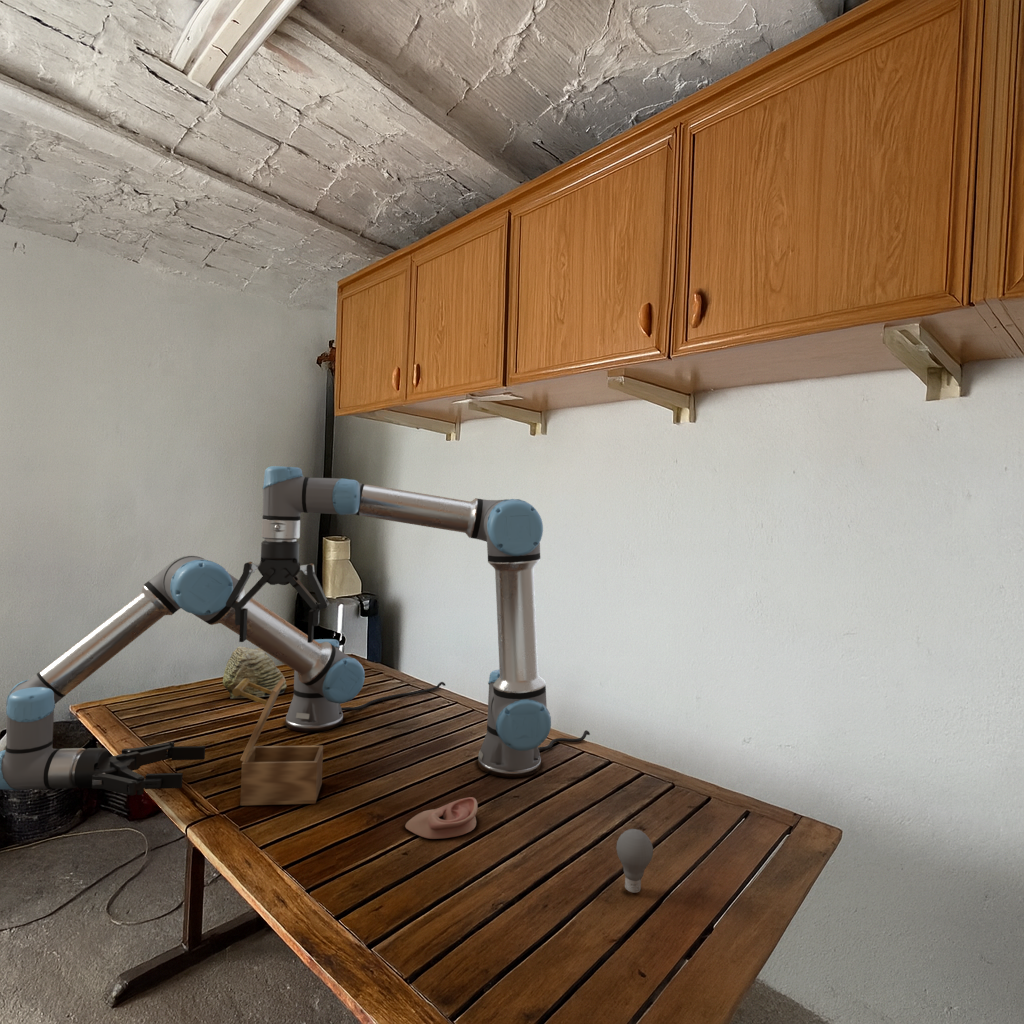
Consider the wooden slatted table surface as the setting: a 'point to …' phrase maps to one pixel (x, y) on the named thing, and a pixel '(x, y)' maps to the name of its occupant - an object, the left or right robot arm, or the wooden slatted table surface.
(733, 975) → the wooden slatted table surface
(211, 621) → the left robot arm
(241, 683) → the lid
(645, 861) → the light bulb
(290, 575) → the right robot arm
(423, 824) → the anatomical model
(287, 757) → the chest
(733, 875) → the wooden slatted table surface
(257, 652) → the fossil
